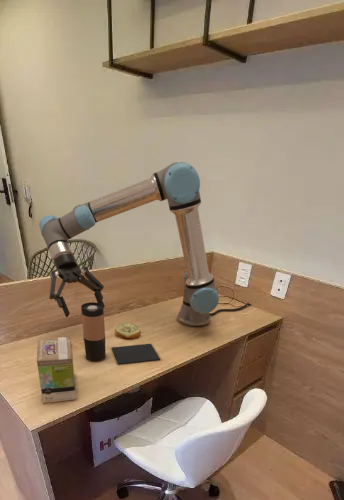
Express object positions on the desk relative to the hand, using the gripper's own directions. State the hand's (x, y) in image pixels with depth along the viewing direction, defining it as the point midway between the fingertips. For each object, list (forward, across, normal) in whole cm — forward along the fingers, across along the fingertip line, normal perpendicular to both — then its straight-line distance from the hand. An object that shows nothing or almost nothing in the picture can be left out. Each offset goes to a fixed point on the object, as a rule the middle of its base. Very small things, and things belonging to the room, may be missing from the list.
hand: (85, 311), depth 121 cm
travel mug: (+15, 0, -8) cm, 17 cm away
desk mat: (+19, -14, -4) cm, 24 cm away
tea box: (+24, +19, +1) cm, 31 cm away
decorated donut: (+8, -21, -16) cm, 27 cm away
